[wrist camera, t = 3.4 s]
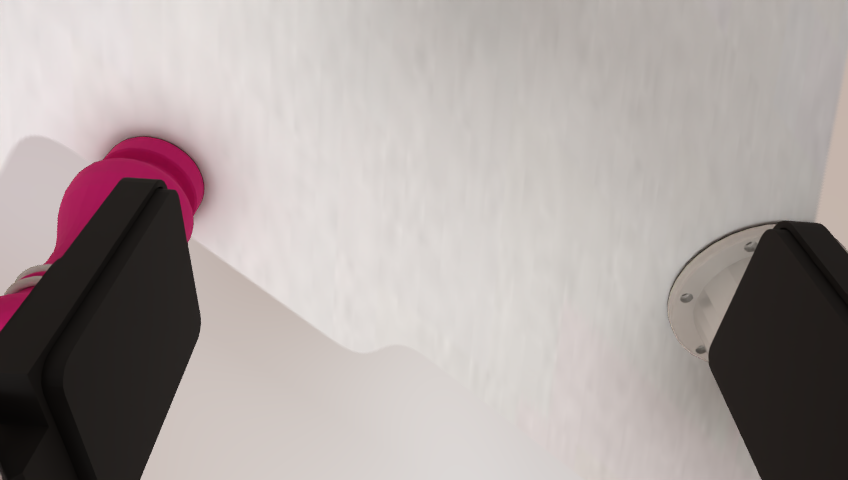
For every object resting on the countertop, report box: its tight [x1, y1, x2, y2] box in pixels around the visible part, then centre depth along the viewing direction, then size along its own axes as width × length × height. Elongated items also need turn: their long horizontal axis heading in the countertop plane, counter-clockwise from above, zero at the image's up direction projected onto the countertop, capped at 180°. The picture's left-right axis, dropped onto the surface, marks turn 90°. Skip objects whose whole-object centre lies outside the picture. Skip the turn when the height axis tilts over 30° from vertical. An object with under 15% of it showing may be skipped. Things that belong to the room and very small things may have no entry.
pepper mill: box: [0, 137, 204, 331], centre depth 34 cm, size 7×7×20 cm
